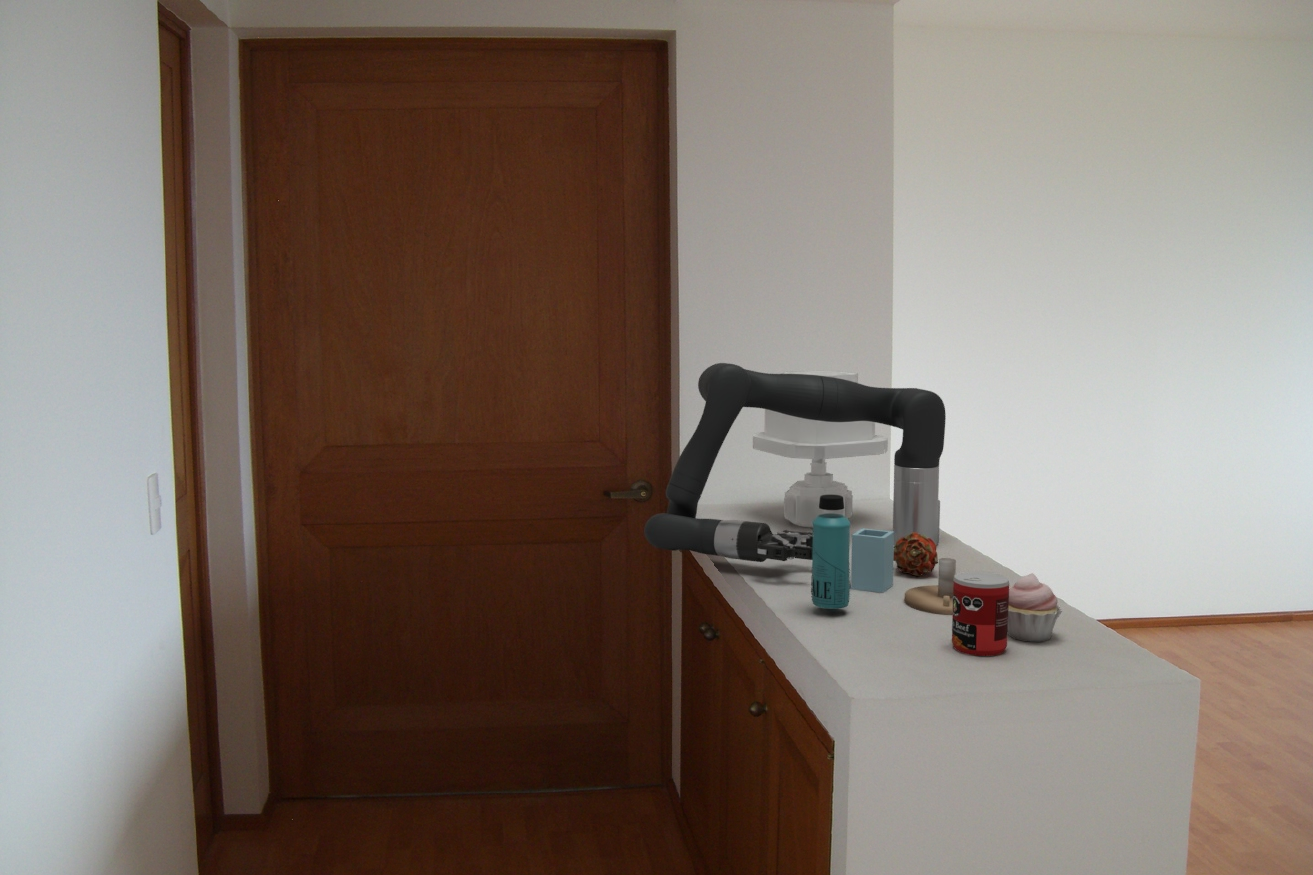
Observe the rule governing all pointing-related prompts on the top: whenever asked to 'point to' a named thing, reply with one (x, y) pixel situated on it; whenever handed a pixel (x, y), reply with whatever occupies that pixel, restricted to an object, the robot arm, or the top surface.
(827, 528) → the beverage bottle
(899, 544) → the dragon fruit
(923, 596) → the post plate
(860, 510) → the top surface
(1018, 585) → the cupcake
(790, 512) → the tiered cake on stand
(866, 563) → the blue pencil cup
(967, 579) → the canned food
